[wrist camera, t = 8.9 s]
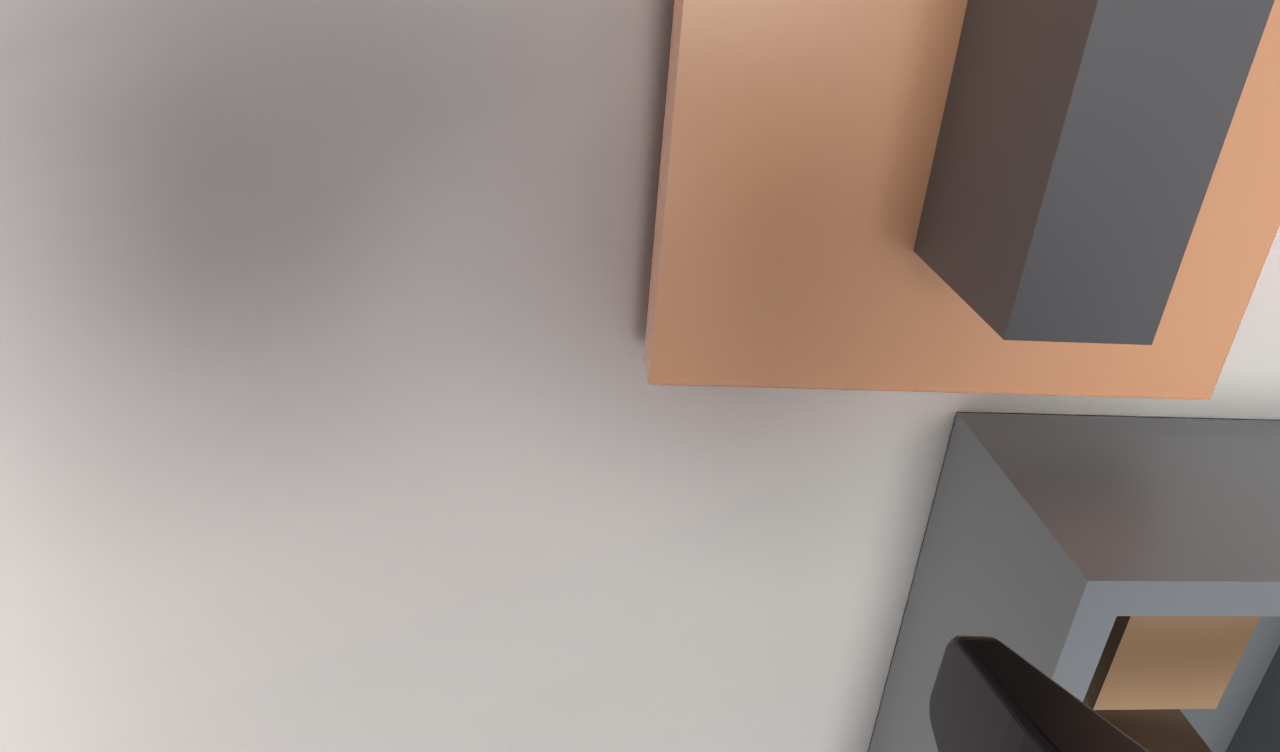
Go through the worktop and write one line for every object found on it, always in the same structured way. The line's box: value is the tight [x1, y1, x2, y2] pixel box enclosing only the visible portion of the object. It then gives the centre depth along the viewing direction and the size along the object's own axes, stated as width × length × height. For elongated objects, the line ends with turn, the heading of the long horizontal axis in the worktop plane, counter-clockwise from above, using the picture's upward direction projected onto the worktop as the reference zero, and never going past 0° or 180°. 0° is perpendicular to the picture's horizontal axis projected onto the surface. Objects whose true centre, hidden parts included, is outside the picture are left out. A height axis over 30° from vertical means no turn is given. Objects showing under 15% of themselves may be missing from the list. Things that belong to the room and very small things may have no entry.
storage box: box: [868, 412, 1280, 752], centre depth 23 cm, size 13×11×6 cm
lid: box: [644, 0, 1280, 400], centre depth 15 cm, size 14×12×6 cm
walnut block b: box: [1085, 616, 1261, 710], centre depth 22 cm, size 3×3×3 cm
